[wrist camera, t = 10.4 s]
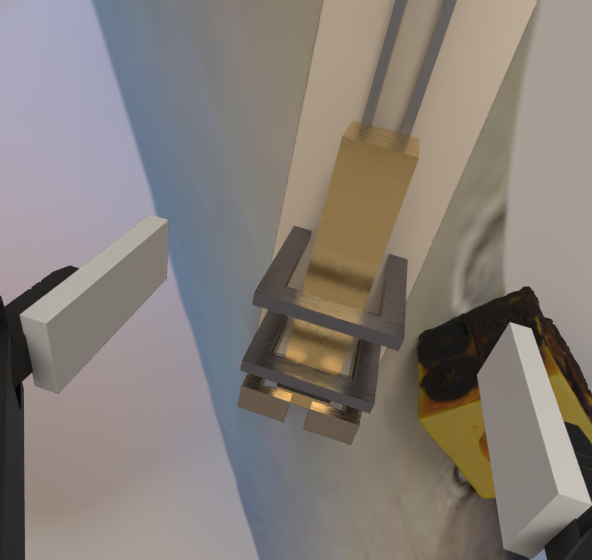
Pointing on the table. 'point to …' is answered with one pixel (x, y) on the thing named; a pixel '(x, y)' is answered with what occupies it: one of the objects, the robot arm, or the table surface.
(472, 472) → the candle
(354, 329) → the collar
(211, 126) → the table surface
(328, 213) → the long golden plank
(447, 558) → the table surface
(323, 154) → the long cream board
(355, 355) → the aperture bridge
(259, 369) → the collar
